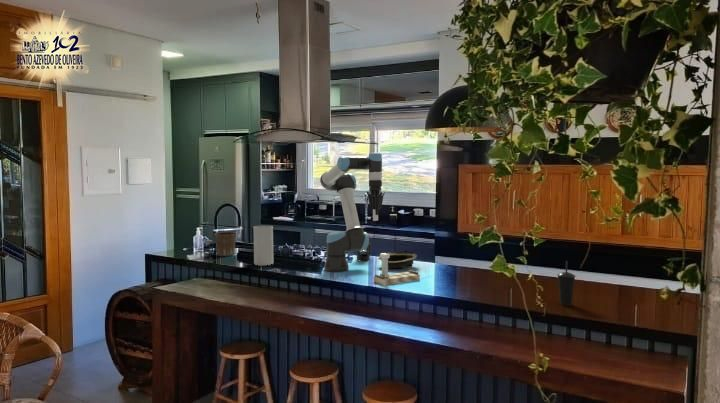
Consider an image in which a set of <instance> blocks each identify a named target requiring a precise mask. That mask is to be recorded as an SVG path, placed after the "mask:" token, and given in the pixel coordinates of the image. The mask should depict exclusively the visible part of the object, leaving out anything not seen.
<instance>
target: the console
mask: <svg viewBox="0 0 720 403" xmlns="http://www.w3.org/2000/svg"><path fill="white" fill-rule="evenodd" d="M389 274H390V277H387V278H384V277H383V276H380V274H379V275H378V274H374V276H373V282H374V283H376V284H380V285H383V286H389V285H390V286H391V285H395V284H402V283H409V282H417V281H420V275H421V274H419V271H414V270H411V269H409V270H407V271H404V272H398V273H397V272H396V273H389Z"/></svg>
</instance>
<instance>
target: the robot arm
mask: <svg viewBox="0 0 720 403" xmlns="http://www.w3.org/2000/svg"><path fill="white" fill-rule="evenodd" d="M353 170H354V171H356V170H363V171H364V170H366V171H367V170H368V186H369V190H368V191H366V195H367V198H368V204H369V208H370V209H372V210H371V211H372V212H371V213H372V221H373V222H376V221H379V214H380V213H379V212H380V209H382V208H383V200H384V196H385V194H386V193H385V191H382V186H383V180H382V179H383V156H382V153H381V152H369V154H368V156H346V155H345V156H339V157H338V158H337V163H336V165H334V166H333V167H332V168H331V169H330V170H328V171H327V170H326V171H325V172H324V173H322V175H321V176H320V178H319V181H320V185H321V186H322V188H324V189H325V190H328V191H331V192H333V191H336V194H337V196H339V197H340V203H341V207H342V211H343V212H342V213H343V217H344V222H345V226H346V229H345V231H342V230H340V231H334V232H333V231H332V232H329V233H328V234H327V235H326V260H325V263H324V267H323V269H324V271H325V272H330V273H331V272H332V273H338V272H340V273H341V272H346V271H349V266H350V265H349V263H348V259H347V257H346V256H347V254H346V253H352V252H357V251H363V250H366V248H367V246H368V243H369V242H370V240H369V239H370V236H369V237H368V235H369V233H368V232H366V231H364V230H363V228H362V227H363V226H361V224H360V220H359V215H358V211H357V206H356V201H355V196H354V192H355V190H356V189H357V178H356V177H355V175H354V174H353V173H351V172H349V171H353Z"/></svg>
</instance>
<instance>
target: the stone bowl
mask: <svg viewBox="0 0 720 403" xmlns="http://www.w3.org/2000/svg"><path fill="white" fill-rule="evenodd" d="M385 253H386V252H385ZM386 254H390V258H388V269H390V270H393V269H398V268H403V267H409V268H411V267H413V264H414V260H415V259H417V257H418V254H416V253H415V252H413V251H407V250H403V251H402V250H393V251H388V252H387V253H386ZM377 259H378V260H380V261H381V262H382V258H381V257H380V256H378V258H377Z"/></svg>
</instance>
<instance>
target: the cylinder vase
mask: <svg viewBox="0 0 720 403" xmlns="http://www.w3.org/2000/svg"><path fill="white" fill-rule="evenodd" d="M252 228H253V264H254V265H255V266H257V265H258V266H259V267H265V266H267V265H268V266H272V265H273V264H274V226H273V225H254V226H252ZM271 264H272V265H271ZM268 266H267V267H268Z"/></svg>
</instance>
